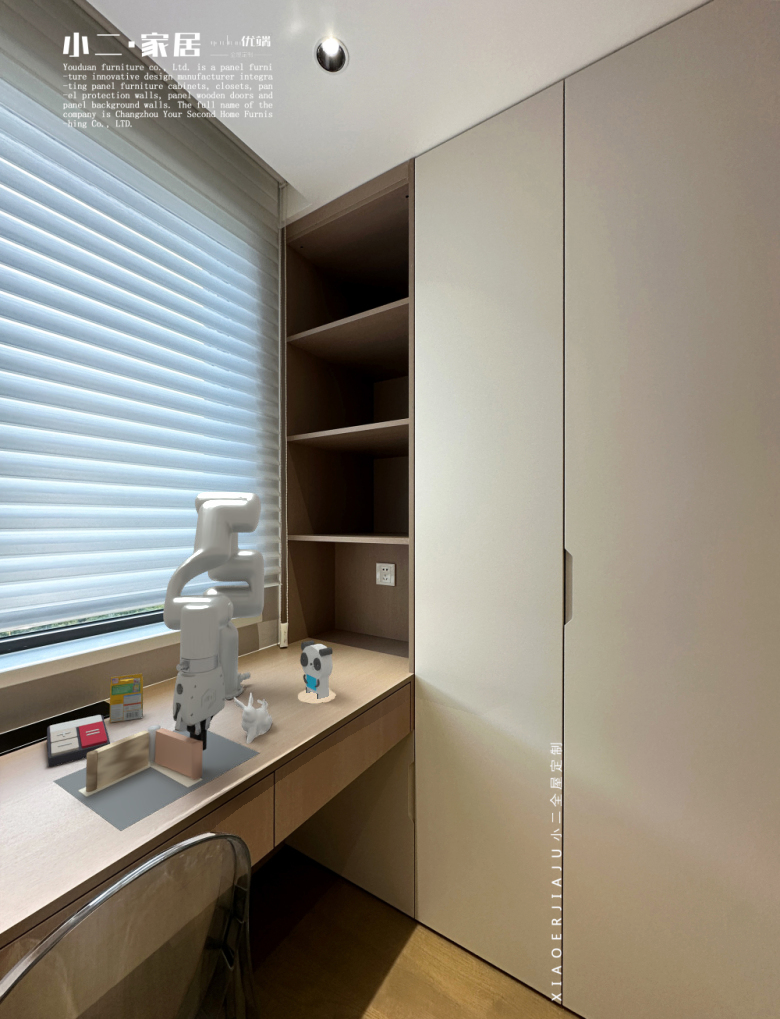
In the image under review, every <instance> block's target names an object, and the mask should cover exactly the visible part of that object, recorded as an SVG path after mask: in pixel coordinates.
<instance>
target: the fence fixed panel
mask: <svg viewBox="0 0 780 1019" xmlns="http://www.w3.org/2000/svg"><path fill="white" fill-rule="evenodd" d="M148 758H149V732H148V730H145V729H143V730H141V731H139V732H137V733H134V734H131V735H129V736H127V737H124V738H121V739H119V740H116V741H114V742H110V744H108V745H106V746H103V747H101V748H98V749H96V750H94V751H90V752H88V753H87V758H86V761H85V762H86V763H85V764H86V767H85V768H86V792H92V791H94V790H96V789H98V788H100V787H102V786H104V785H107V784H109V783H111V782H113V781H115V780H117V779H120V778H122V777H124V776H126V775H128V774H130V773H132V772H135V771H137V770H139V769H141V768H143V767H145V766H147V765H148Z"/></svg>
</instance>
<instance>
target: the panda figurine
mask: <svg viewBox="0 0 780 1019" xmlns="http://www.w3.org/2000/svg"><path fill="white" fill-rule="evenodd" d="M300 649H301V651H302V652H301V654H300V659H299V662H300V665H301V667H302V670H303V673H304V674H303V676H302V678H303V681H304V683H305V689H306V693H310V692H313V693H316V694H317V699H321V698H325V697H328V696H329V689H330V687H329V686H330V685H329V684H330V683H329V682H330V679H329V678H330V676H331V674H332V672H333V656H332V655H333V652H334V651H333V648H332V647H330V646H329V647H327V646H326V645H324V644H322V643H315V641H314V640H309V641H308V640H307V641H303V642H301V644H300Z"/></svg>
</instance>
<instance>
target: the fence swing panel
mask: <svg viewBox="0 0 780 1019" xmlns="http://www.w3.org/2000/svg"><path fill="white" fill-rule="evenodd" d="M147 731H148V732H149V758H148V761H149V762H153V761H155V763H158V764H160V765H163V766H165V767H167V768H170V769H172V770H175V771H177V772H180V773H182V774H184V775H187V776H189V777H191V778H192V779H198V778H200V777H201V776H202V752H203V742H202V741H198V740H195V739H193V738H190V737H187V736H184V735H181V734H179V733H176V732H173V731H174V730H170V729H167V728H165V727H164V728H163V727H162V726H161V725H159V724H153V725H150V726H149V727H147Z"/></svg>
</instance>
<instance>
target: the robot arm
mask: <svg viewBox="0 0 780 1019" xmlns="http://www.w3.org/2000/svg"><path fill="white" fill-rule="evenodd" d="M194 507H195V512H196V513H197V522H196V529H195V535H194V536H195V537H194V544H193V552H192V553H191V555H190V556H189V557H188V558H186V559H185V560H184V561H183V562H182V563H181V564H180V565H179V566H178V567H177V568H176V569H175V570H174V572H173V573H172V575H171V577H170V579H169V581H168V584H167V588H166V593H165V597H164V598H165V599H164V605H163V612H162V613H163V615H162V616H163V617H162V618H163V622H164V626H165V627H167V629H169V630H173V631H180V632H179V633H180V635H179V636H180V638H179V639H180V640H179V642H180V647H179V663H178V664H176V667H175V668H176V671H178V673H177V674H176V675H177V676H176V679H175V685H174V690H173V691H174V692H173V699H172V700H173V701H172V717H173V721H174V722H175V726H174V730H176V731H179V732H182V731H186V730H187V732H190V738H193V739H195V740H198V741H202V742H203V751H204V750H206V748H207V730H208V731H209V730H210V727H211V722H212V720H213V718H214V717H215V716H217V714H219V713H220V712H221V711H222V710H223V709H224V708H225V706H226V700H227V701H228V700H231V699H234V697H235V698H238V697H239V696H240V695H241V694H242V693H243V691H244V687H243V685H242V684H241V683H243V681H245V680H248V679H250V678H251V673H250V672H249V671H247V672H245V673H242V672H239V671H238V670H239V631H238V628H237V627H236V625H235V624H234V622H232V619H243V618H244V619H247V618H248V619H249V618H257V617H259V616H261V614H263V610H264V606H265V562H264V561H265V560H264V556H263V554H262V552H261V551H259V550H257V549H254V548H253V549H252V548H251V549H250V548H249V549H247V548H245V549H244V548H243V549H242V548H241V549H240V548H239V534H243V533H244V534H245V533H254V532H255V531H256V530H257V528H258V525H259V522H260V515H261V511H262V504H261V500H260V497H259V495H258V494H256V493H253V492H241V491H240V492H238V491H233V492H232V491H204V492H200V493H199V494H197V495H196V497H195V500H194ZM204 573H207V575H208V578H209V579H210V580H211V581H213V582H219V583H220V582H221V583H223V582H224V583H232V582H236V583H237V582H243V583H244V582H245V583H247V585H244V584H243V585H234V584H232V585H229V584H228V585H216V586H211V587H209V588H207V589H206V590H204V592H203V593H202V594H194V595H191V594H190V595H189V594H186V595H185V594H184V595H182V592H183V589H184V588H185V586H186V585H187V584H188V583H189V582H190V581H191V580H192V579H194V578H196V577H198V576H200V575H202V574H204Z"/></svg>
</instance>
